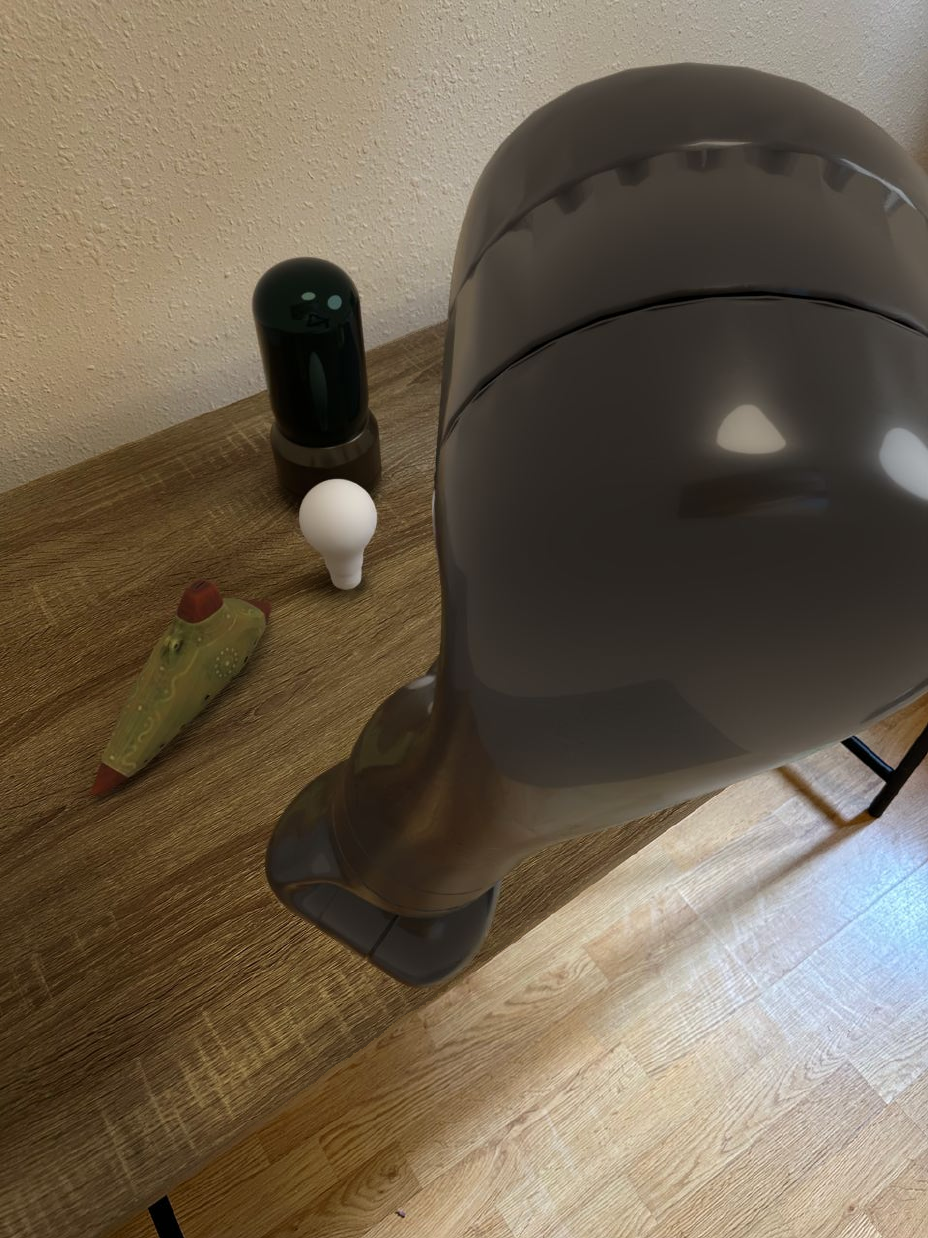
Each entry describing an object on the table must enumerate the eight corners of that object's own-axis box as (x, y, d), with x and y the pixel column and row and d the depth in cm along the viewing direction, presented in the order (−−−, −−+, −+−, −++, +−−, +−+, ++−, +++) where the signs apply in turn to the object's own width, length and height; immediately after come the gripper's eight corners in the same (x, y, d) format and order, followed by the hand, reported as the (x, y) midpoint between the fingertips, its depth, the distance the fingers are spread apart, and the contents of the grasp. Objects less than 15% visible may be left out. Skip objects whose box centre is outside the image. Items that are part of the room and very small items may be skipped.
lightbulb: (335, 549, 87) (320, 453, 79) (396, 572, 85) (388, 477, 77) (297, 597, 84) (278, 502, 75) (360, 621, 82) (348, 528, 73)
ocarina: (125, 822, 70) (83, 747, 63) (70, 788, 72) (23, 711, 64) (298, 631, 81) (280, 547, 74) (246, 605, 83) (223, 521, 75)
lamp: (269, 461, 94) (225, 248, 77) (365, 438, 96) (344, 225, 79) (294, 530, 89) (253, 316, 71) (396, 503, 91) (380, 289, 74)
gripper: (675, 624, 49) (772, 429, 58) (421, 528, 53) (549, 361, 62) (654, 710, 54) (746, 521, 63) (427, 617, 59) (543, 453, 68)
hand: (648, 442), depth 63 cm, fingers open, 8 cm apart
